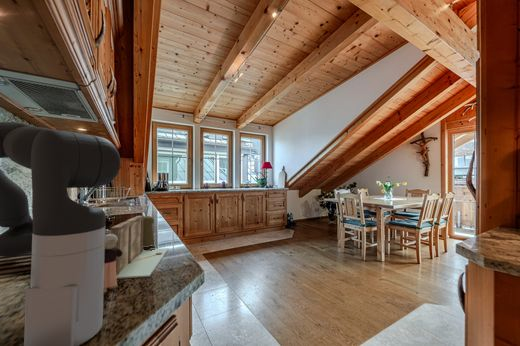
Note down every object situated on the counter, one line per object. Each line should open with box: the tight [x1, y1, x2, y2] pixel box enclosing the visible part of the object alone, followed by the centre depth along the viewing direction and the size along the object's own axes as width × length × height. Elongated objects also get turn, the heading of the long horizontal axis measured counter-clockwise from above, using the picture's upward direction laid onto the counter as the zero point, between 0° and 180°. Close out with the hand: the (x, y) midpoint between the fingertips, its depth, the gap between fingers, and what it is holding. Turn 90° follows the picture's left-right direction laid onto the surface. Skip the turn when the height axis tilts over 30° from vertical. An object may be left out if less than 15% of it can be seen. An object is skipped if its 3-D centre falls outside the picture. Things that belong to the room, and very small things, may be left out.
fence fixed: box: [110, 221, 130, 276], centre depth 62 cm, size 8×2×12 cm, turn 10°
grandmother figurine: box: [103, 234, 124, 294], centre depth 53 cm, size 8×4×13 cm, turn 168°
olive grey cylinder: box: [143, 215, 155, 246], centre depth 86 cm, size 6×6×11 cm
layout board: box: [116, 247, 170, 280], centre depth 69 cm, size 23×12×1 cm, turn 10°
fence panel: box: [124, 215, 145, 262], centre depth 72 cm, size 11×2×12 cm, turn 9°
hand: (135, 235), depth 75 cm, fingers closed
